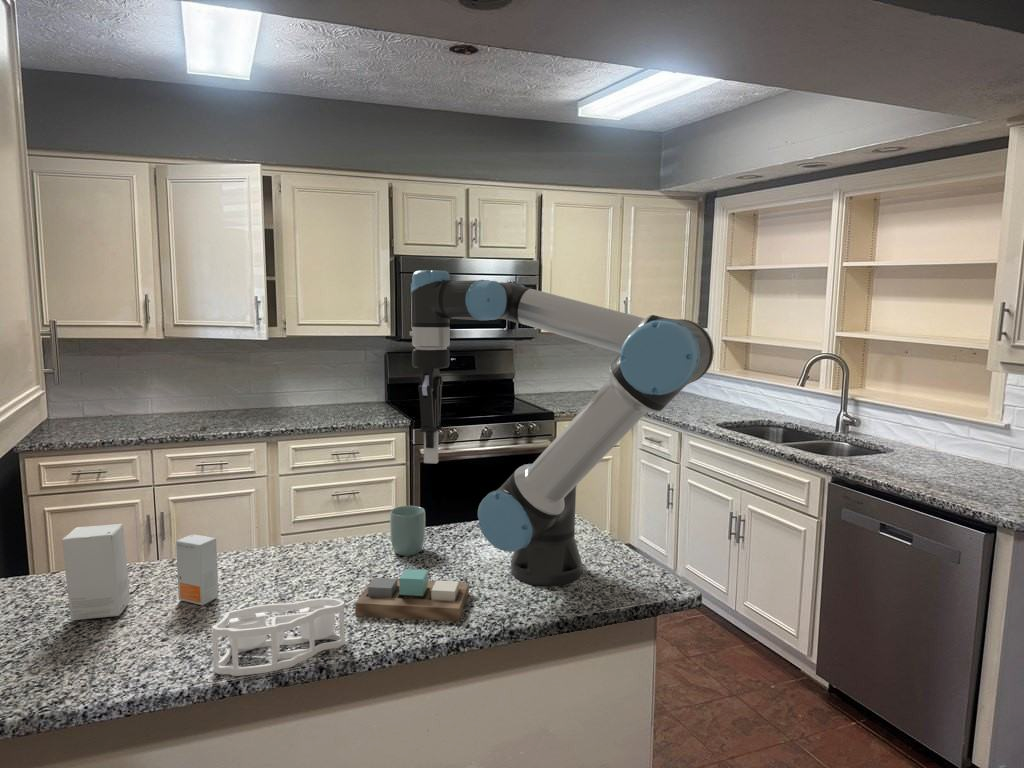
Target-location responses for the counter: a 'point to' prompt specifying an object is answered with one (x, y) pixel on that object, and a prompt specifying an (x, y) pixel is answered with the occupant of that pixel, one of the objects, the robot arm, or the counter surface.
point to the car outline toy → (278, 633)
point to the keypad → (412, 605)
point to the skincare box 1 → (96, 571)
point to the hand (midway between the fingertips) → (431, 462)
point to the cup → (407, 529)
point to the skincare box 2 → (197, 569)
